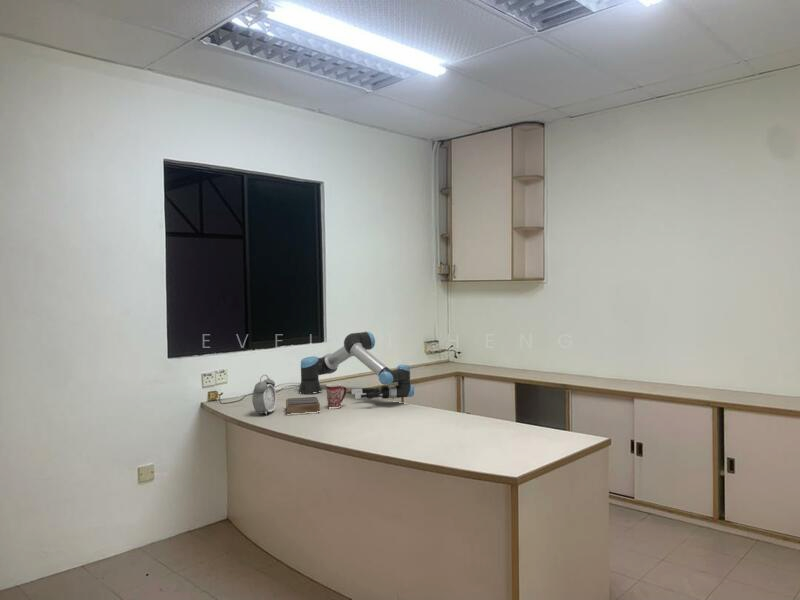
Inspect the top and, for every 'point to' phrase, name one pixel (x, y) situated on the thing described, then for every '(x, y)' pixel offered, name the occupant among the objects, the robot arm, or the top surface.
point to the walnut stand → (302, 405)
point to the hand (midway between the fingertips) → (353, 394)
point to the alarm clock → (264, 396)
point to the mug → (335, 395)
